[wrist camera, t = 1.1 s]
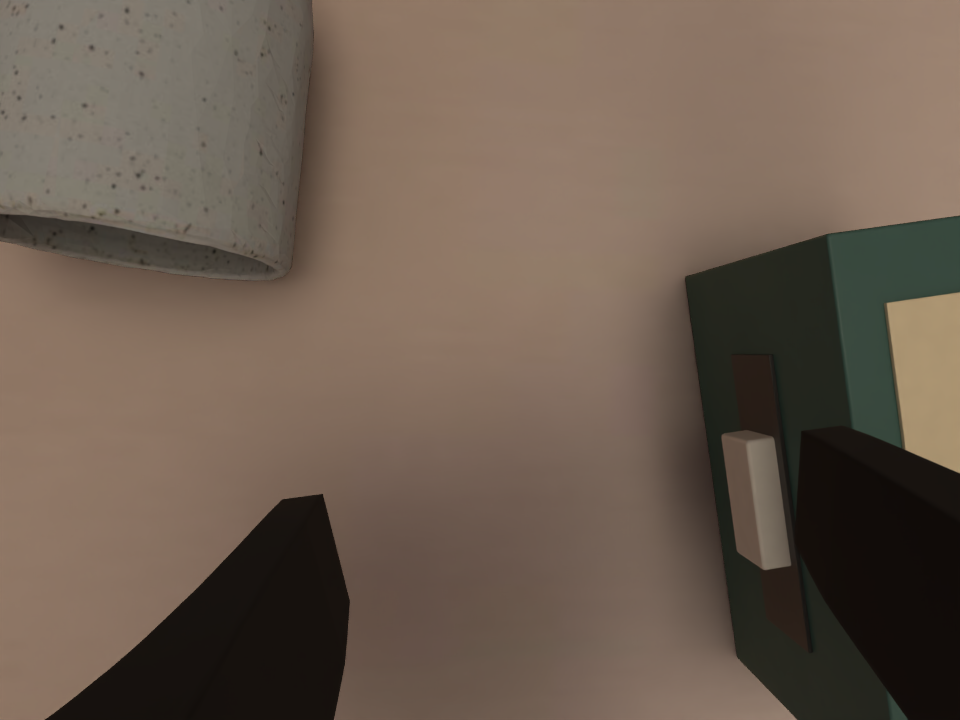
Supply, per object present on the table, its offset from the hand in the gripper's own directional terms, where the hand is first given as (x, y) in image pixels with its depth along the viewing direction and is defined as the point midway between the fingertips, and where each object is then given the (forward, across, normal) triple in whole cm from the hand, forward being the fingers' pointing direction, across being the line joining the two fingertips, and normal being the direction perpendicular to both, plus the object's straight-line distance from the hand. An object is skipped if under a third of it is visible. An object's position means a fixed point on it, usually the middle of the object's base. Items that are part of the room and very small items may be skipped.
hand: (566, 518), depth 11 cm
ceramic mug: (+13, +10, -5) cm, 17 cm away
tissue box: (+10, -8, +6) cm, 14 cm away
